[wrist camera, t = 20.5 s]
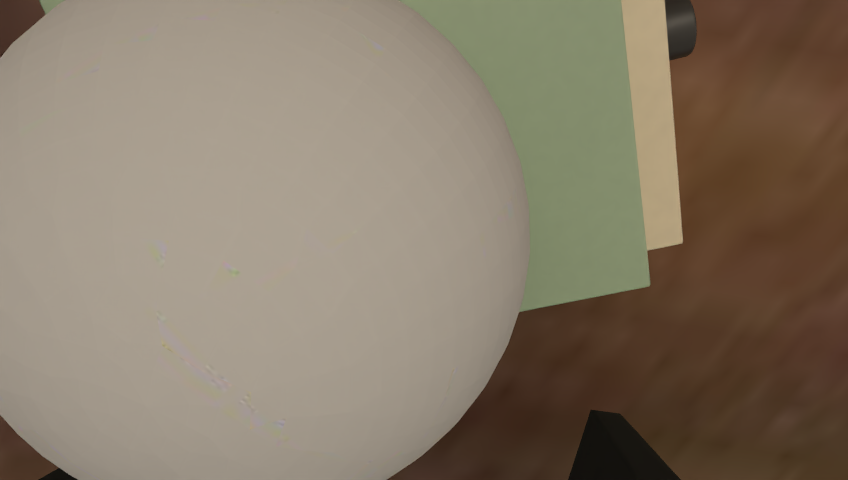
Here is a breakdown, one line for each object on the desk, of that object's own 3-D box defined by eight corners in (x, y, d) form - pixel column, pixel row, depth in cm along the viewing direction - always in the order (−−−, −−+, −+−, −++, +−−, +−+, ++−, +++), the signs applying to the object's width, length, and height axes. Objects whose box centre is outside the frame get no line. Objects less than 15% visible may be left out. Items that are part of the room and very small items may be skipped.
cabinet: (540, -173, 15) (593, -275, 10) (593, 209, 20) (651, 287, 14) (143, -52, 17) (-2, -82, 11) (273, 279, 21) (214, 373, 16)
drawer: (638, -184, 15) (711, -256, 11) (669, 186, 18) (730, 234, 15) (204, -53, 16) (127, -74, 12) (317, 263, 20) (286, 325, 16)
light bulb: (315, -77, 11) (-254, -473, 2) (536, 92, 12) (803, 324, 3) (191, 151, 13) (-382, 471, 4) (393, 279, 14) (305, 754, 5)
